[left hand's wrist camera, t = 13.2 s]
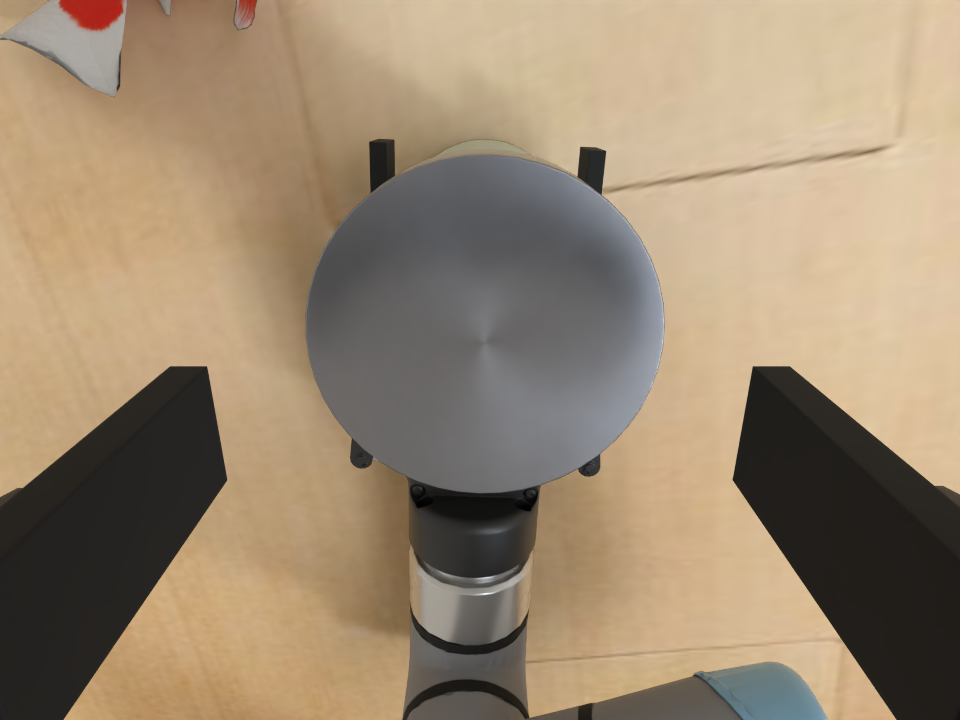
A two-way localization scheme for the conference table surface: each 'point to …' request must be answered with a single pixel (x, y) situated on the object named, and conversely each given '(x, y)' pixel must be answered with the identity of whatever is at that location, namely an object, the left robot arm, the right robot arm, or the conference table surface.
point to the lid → (484, 322)
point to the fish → (90, 36)
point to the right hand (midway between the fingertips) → (487, 144)
